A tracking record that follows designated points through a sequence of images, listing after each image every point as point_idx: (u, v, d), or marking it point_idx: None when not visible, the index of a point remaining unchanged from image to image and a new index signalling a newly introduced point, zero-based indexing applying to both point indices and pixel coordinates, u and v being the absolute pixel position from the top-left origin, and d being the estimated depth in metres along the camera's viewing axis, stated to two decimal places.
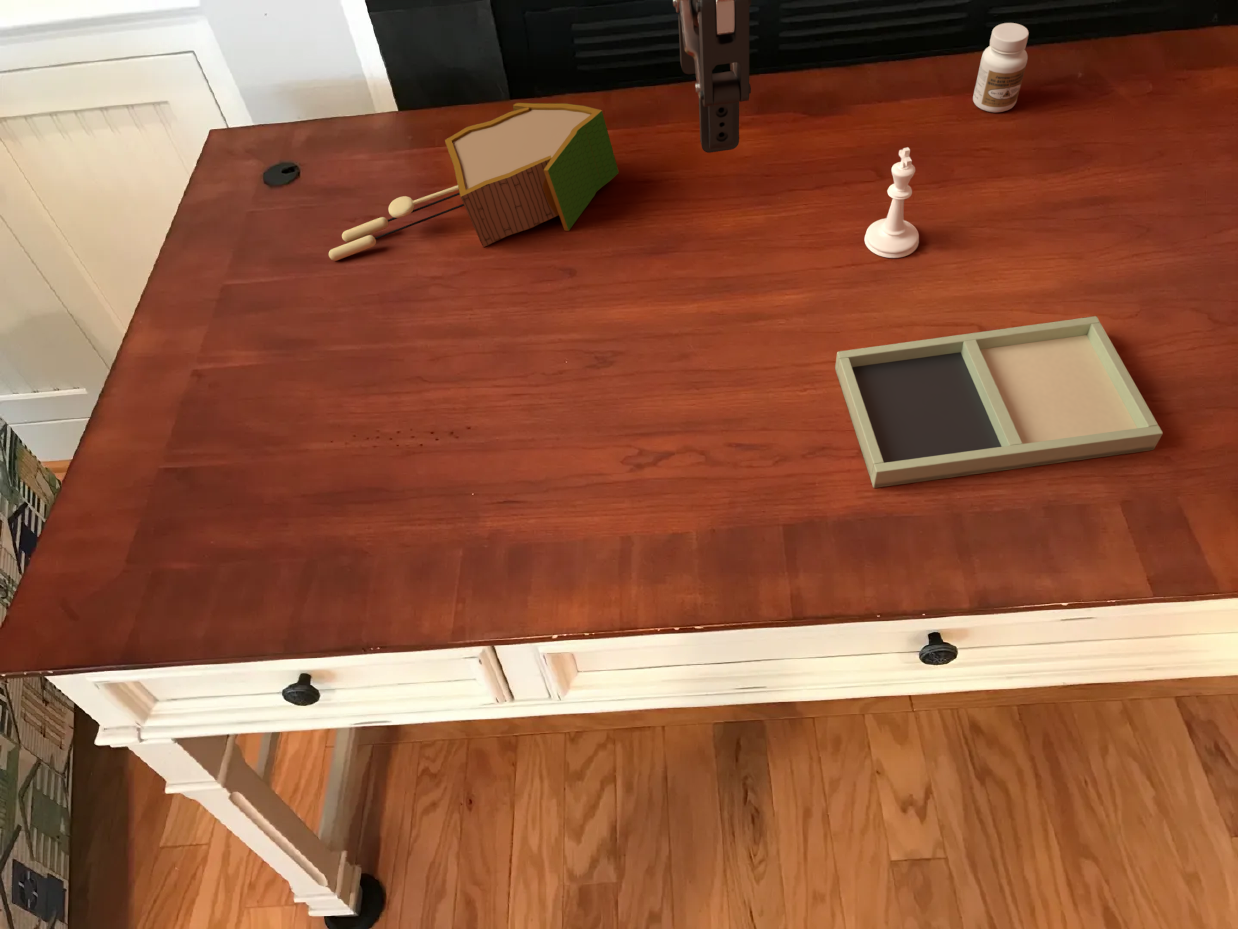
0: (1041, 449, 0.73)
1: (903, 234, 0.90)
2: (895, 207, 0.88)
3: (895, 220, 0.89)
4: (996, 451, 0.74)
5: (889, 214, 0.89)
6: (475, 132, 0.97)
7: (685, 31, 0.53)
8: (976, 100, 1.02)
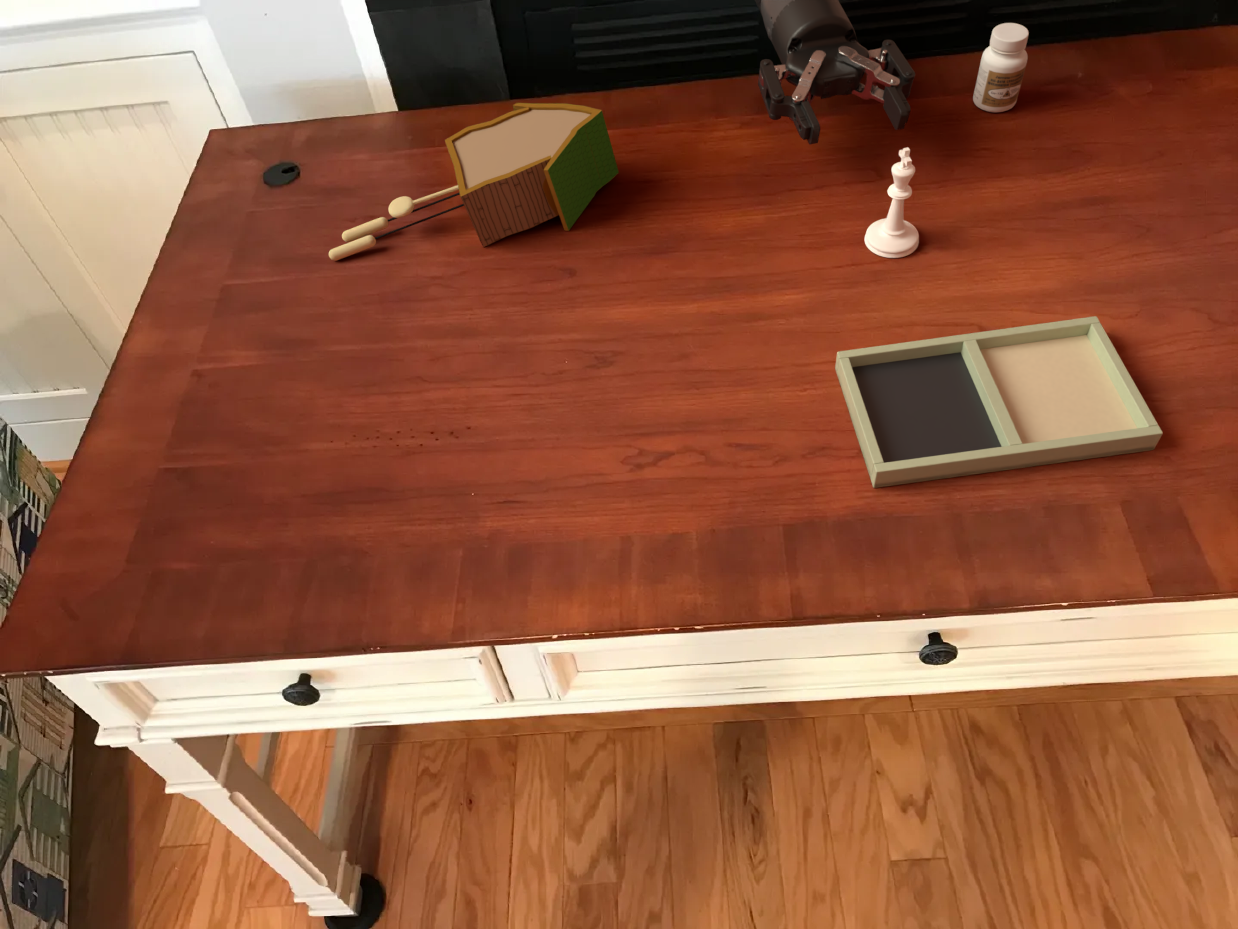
0: (1041, 449, 0.73)
1: (903, 234, 0.90)
2: (895, 207, 0.88)
3: (895, 220, 0.89)
4: (996, 451, 0.74)
5: (889, 214, 0.89)
6: (475, 132, 0.97)
7: None
8: (976, 100, 1.02)
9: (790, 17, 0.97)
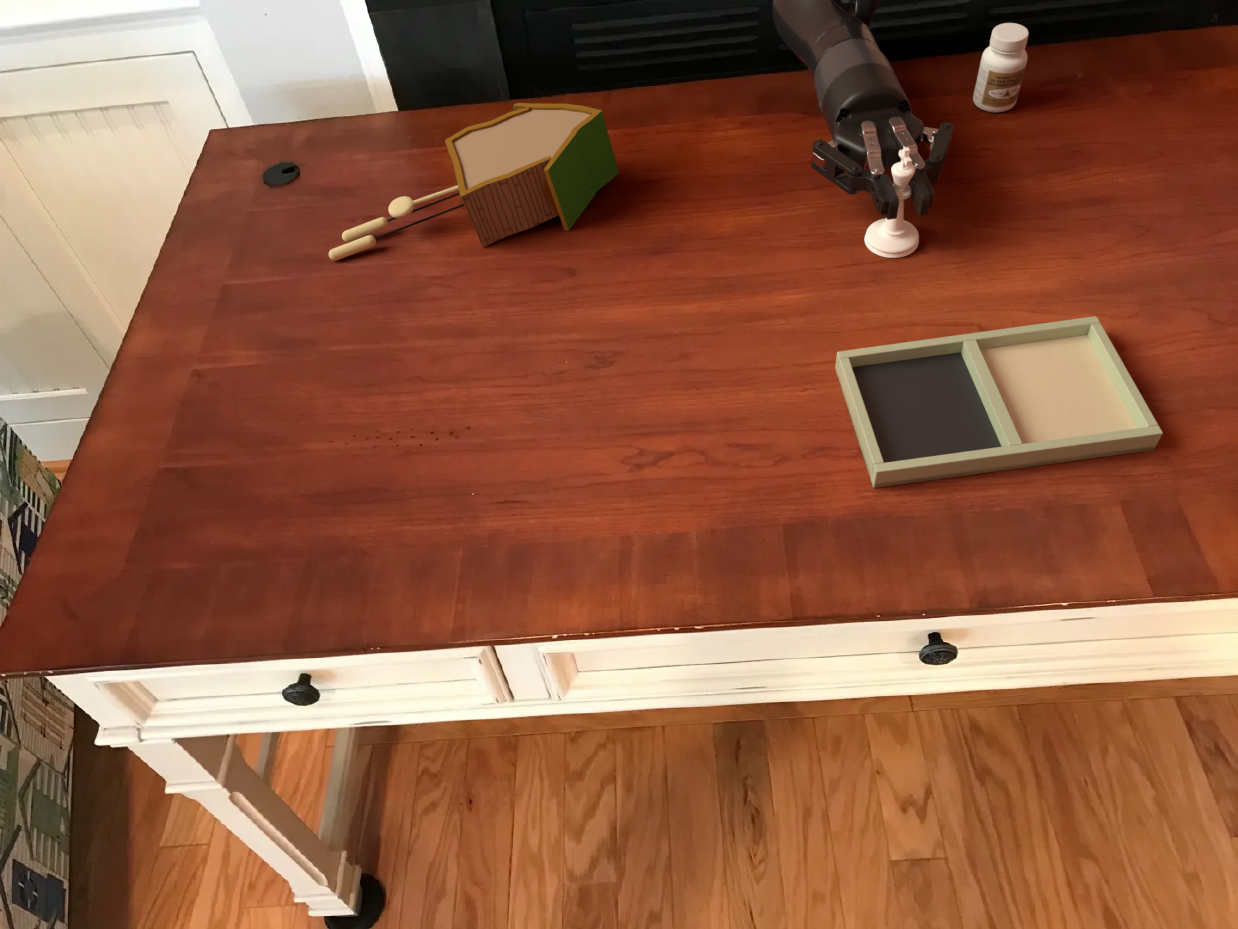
0: (1041, 449, 0.73)
1: (903, 234, 0.90)
2: None
3: (895, 220, 0.89)
4: (996, 451, 0.74)
5: None
6: (475, 132, 0.97)
7: None
8: (976, 100, 1.02)
9: (840, 88, 0.92)
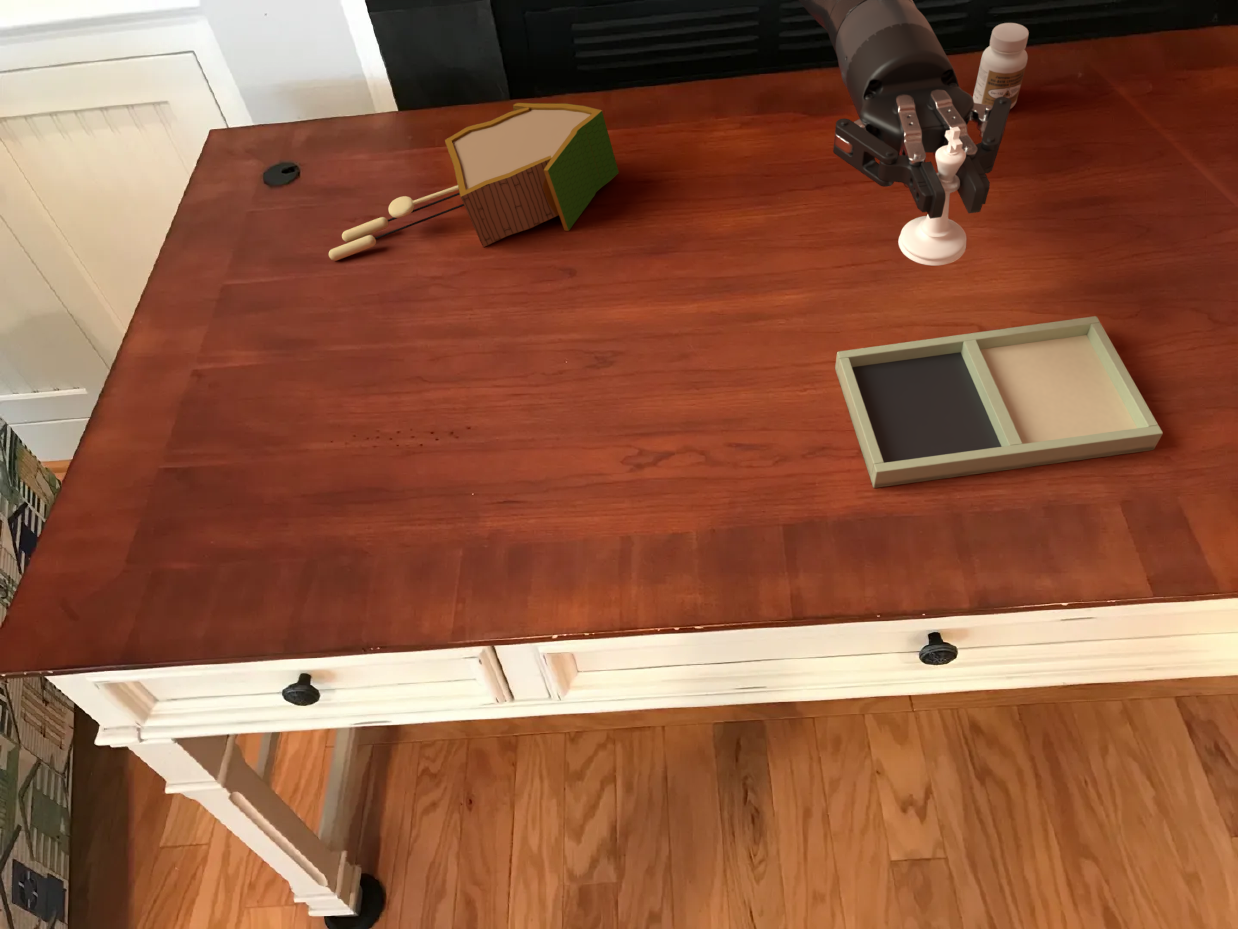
0: (1041, 449, 0.73)
1: (947, 236, 0.73)
2: None
3: (938, 218, 0.71)
4: (996, 451, 0.74)
5: None
6: (475, 132, 0.97)
7: None
8: (976, 100, 1.02)
9: (869, 54, 0.75)
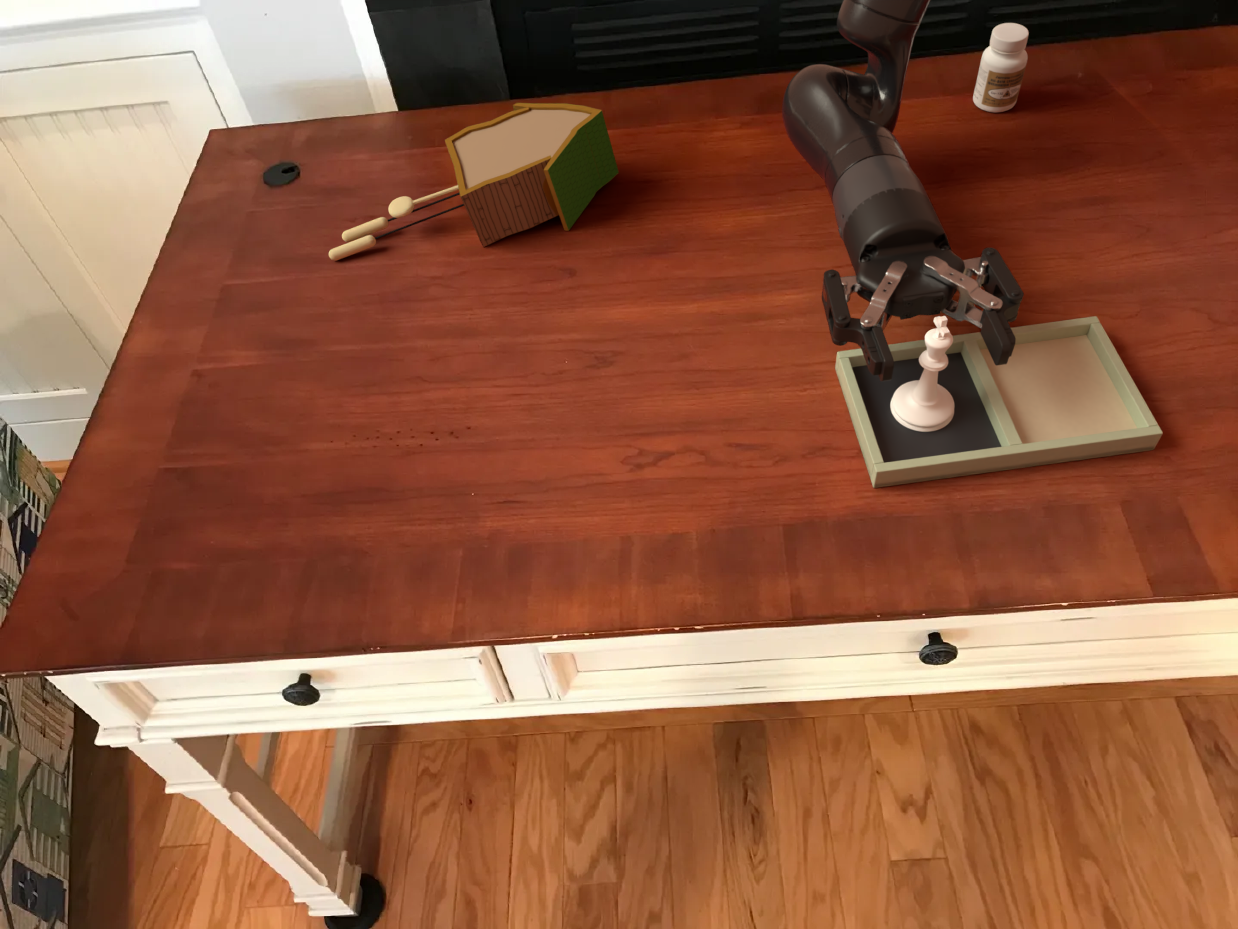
0: (1041, 449, 0.73)
1: (936, 404, 0.77)
2: (928, 377, 0.75)
3: (927, 390, 0.76)
4: (996, 451, 0.74)
5: (920, 383, 0.76)
6: (475, 132, 0.97)
7: None
8: (976, 100, 1.02)
9: (864, 218, 0.78)
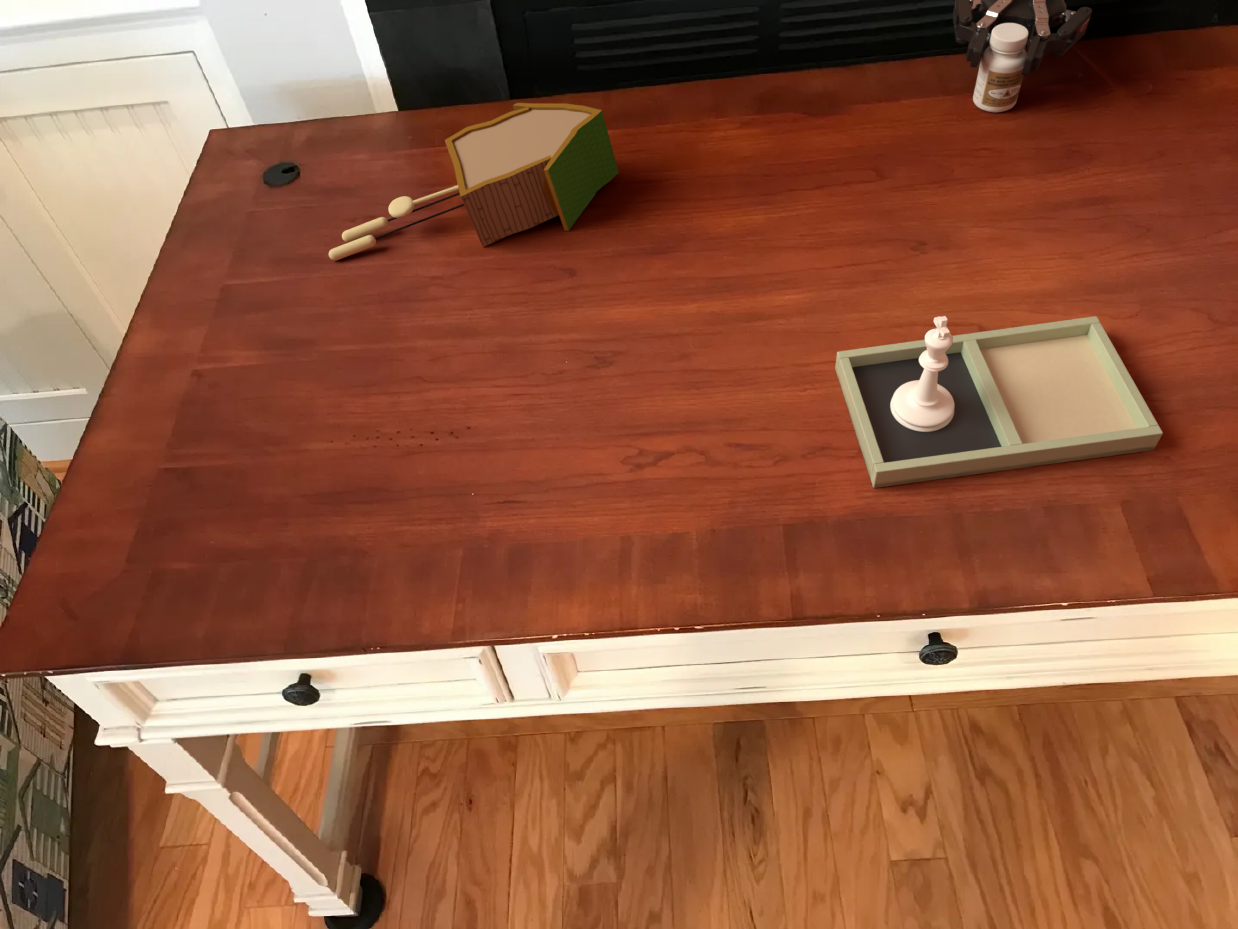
0: (1041, 449, 0.73)
1: (936, 404, 0.77)
2: (928, 377, 0.75)
3: (927, 390, 0.76)
4: (996, 451, 0.74)
5: (920, 383, 0.76)
6: (475, 132, 0.97)
7: None
8: (976, 100, 1.02)
9: None
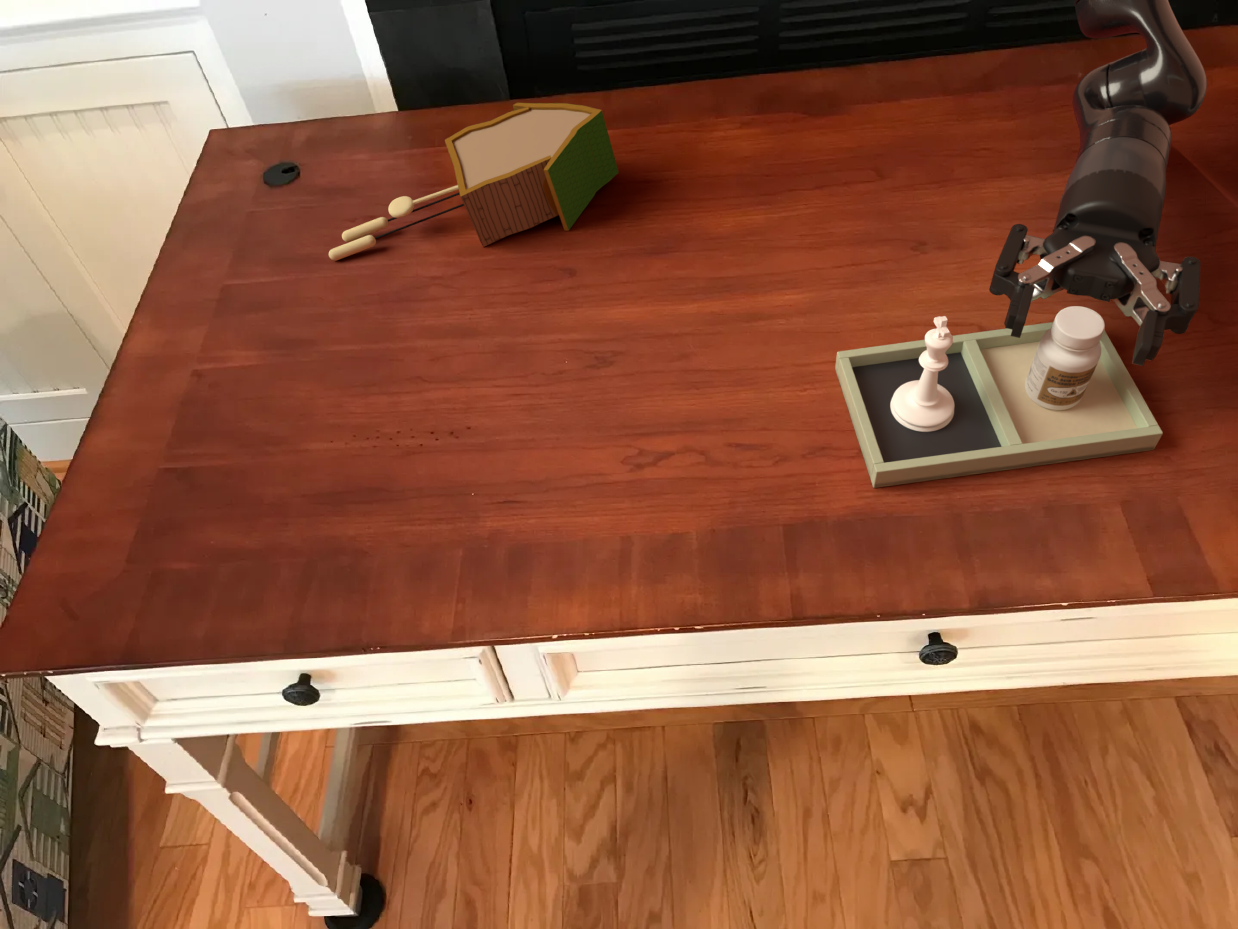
0: (1041, 449, 0.73)
1: (936, 404, 0.77)
2: (928, 377, 0.75)
3: (927, 390, 0.76)
4: (996, 451, 0.74)
5: (920, 383, 0.76)
6: (475, 132, 0.97)
7: None
8: (1030, 392, 0.77)
9: (1081, 189, 0.78)
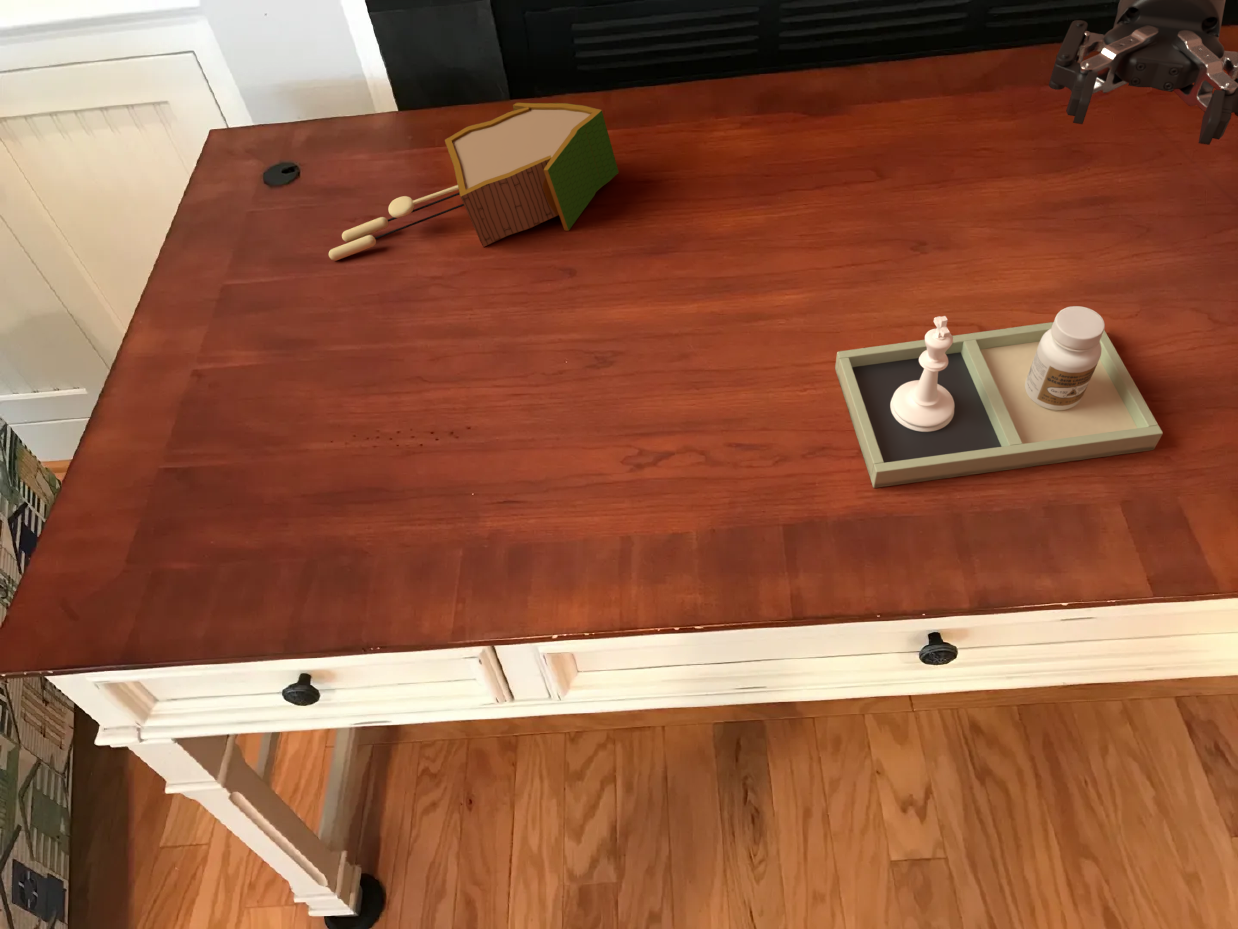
0: (1041, 449, 0.73)
1: (936, 404, 0.77)
2: (928, 377, 0.75)
3: (927, 390, 0.76)
4: (996, 451, 0.74)
5: (920, 383, 0.76)
6: (475, 132, 0.97)
7: None
8: (1030, 392, 0.77)
9: None
